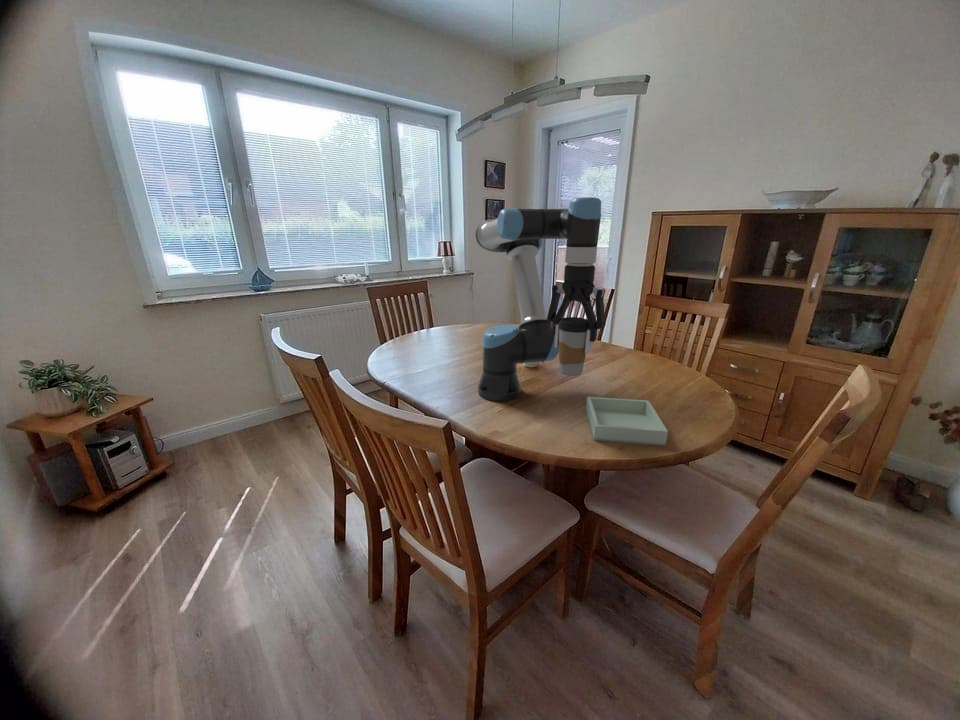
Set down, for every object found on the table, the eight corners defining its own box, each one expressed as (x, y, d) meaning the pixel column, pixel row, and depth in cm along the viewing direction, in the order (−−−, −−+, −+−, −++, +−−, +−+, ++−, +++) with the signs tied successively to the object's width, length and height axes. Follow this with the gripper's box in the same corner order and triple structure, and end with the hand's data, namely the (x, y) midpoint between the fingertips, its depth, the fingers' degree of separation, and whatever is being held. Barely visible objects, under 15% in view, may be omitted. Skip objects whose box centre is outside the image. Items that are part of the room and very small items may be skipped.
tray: (593, 440, 98) (595, 426, 97) (585, 409, 115) (587, 396, 114) (665, 446, 96) (668, 431, 94) (646, 413, 113) (648, 400, 111)
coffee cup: (592, 374, 100) (598, 321, 95) (568, 380, 96) (573, 325, 91) (572, 365, 107) (576, 315, 101) (549, 370, 103) (552, 318, 98)
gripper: (627, 265, 88) (615, 353, 95) (550, 261, 100) (545, 339, 108) (616, 268, 82) (604, 361, 90) (536, 263, 95) (532, 345, 103)
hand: (572, 349), depth 99 cm, fingers closed on coffee cup, 8 cm apart
